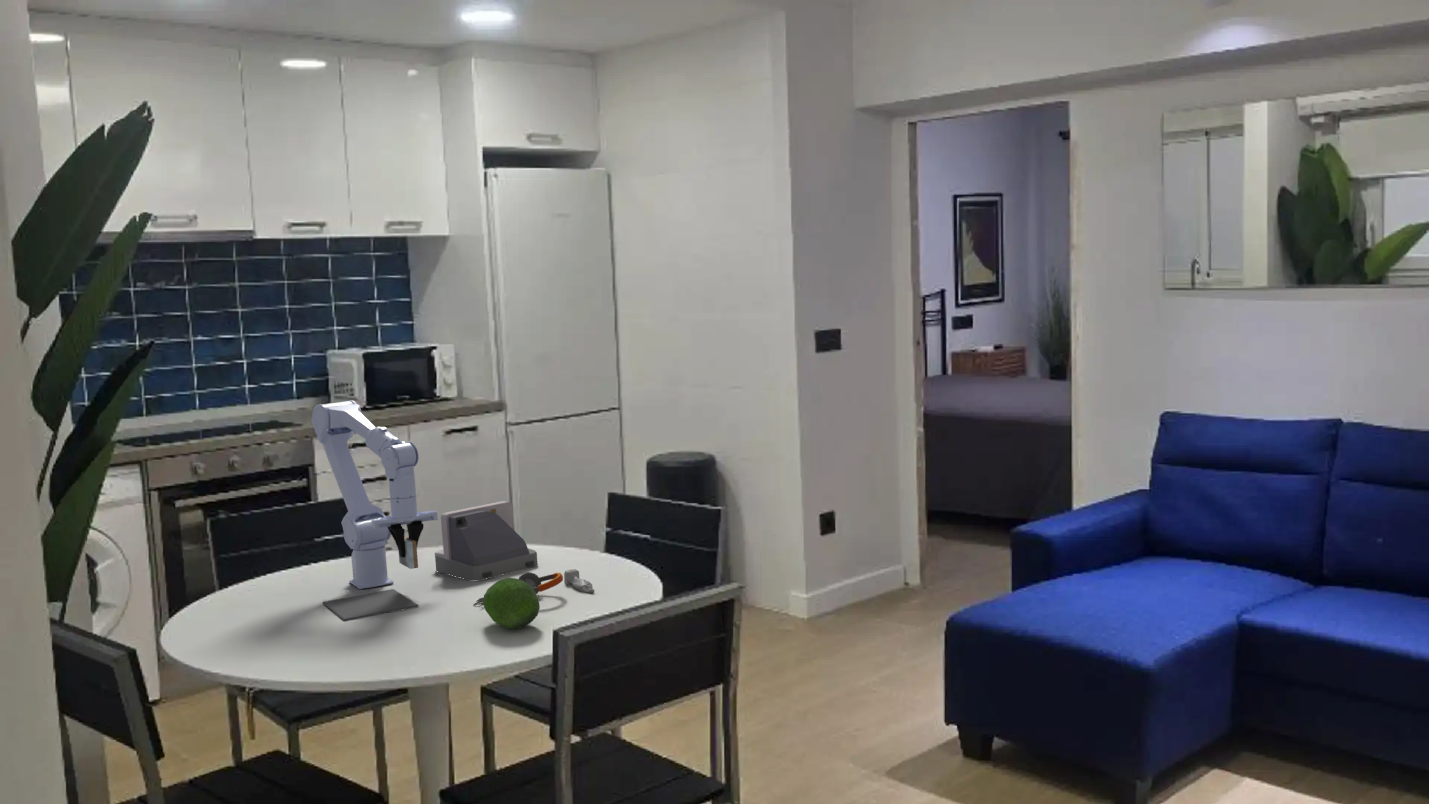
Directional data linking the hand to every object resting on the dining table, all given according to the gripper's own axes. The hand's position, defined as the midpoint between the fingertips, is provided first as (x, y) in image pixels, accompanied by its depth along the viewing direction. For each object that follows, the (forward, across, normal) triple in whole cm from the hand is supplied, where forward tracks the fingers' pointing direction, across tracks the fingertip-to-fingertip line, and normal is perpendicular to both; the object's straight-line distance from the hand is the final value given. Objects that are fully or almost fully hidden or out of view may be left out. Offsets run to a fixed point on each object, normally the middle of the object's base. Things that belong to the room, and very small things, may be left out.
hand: (407, 555), depth 280 cm
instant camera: (+9, +22, +9) cm, 25 cm away
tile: (+2, 0, 0) cm, 2 cm away
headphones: (+9, +17, -24) cm, 30 cm away
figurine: (+9, +31, -25) cm, 41 cm away
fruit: (+9, +7, -42) cm, 43 cm away
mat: (+8, -11, -5) cm, 15 cm away
